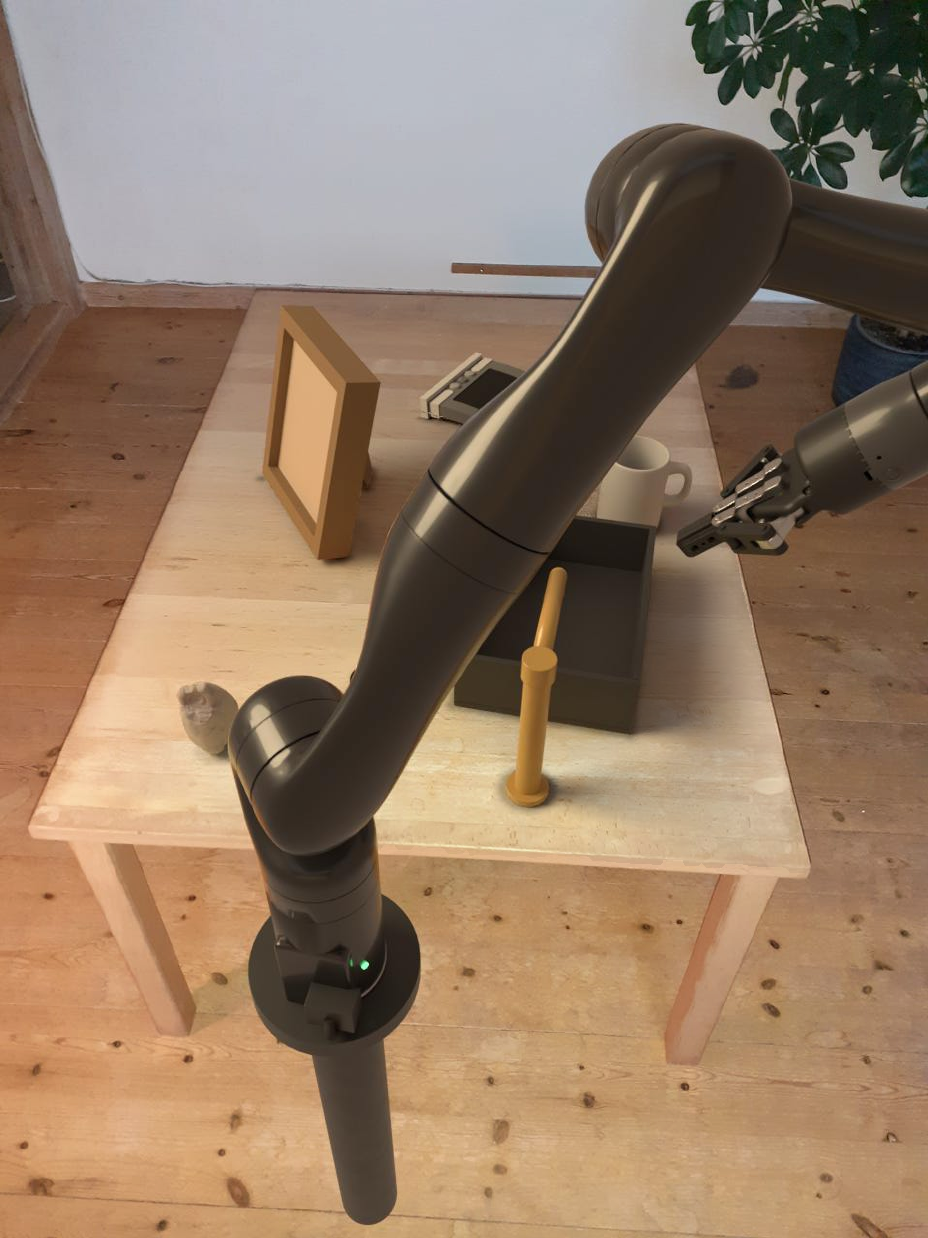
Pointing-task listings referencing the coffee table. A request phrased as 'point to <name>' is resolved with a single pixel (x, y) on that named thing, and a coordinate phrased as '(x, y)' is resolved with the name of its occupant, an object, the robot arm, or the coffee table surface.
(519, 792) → the faucet column
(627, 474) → the mug
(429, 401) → the alarm clock
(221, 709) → the fossil
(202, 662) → the coffee table surface
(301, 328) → the photo frame
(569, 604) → the sink
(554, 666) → the faucet spout
